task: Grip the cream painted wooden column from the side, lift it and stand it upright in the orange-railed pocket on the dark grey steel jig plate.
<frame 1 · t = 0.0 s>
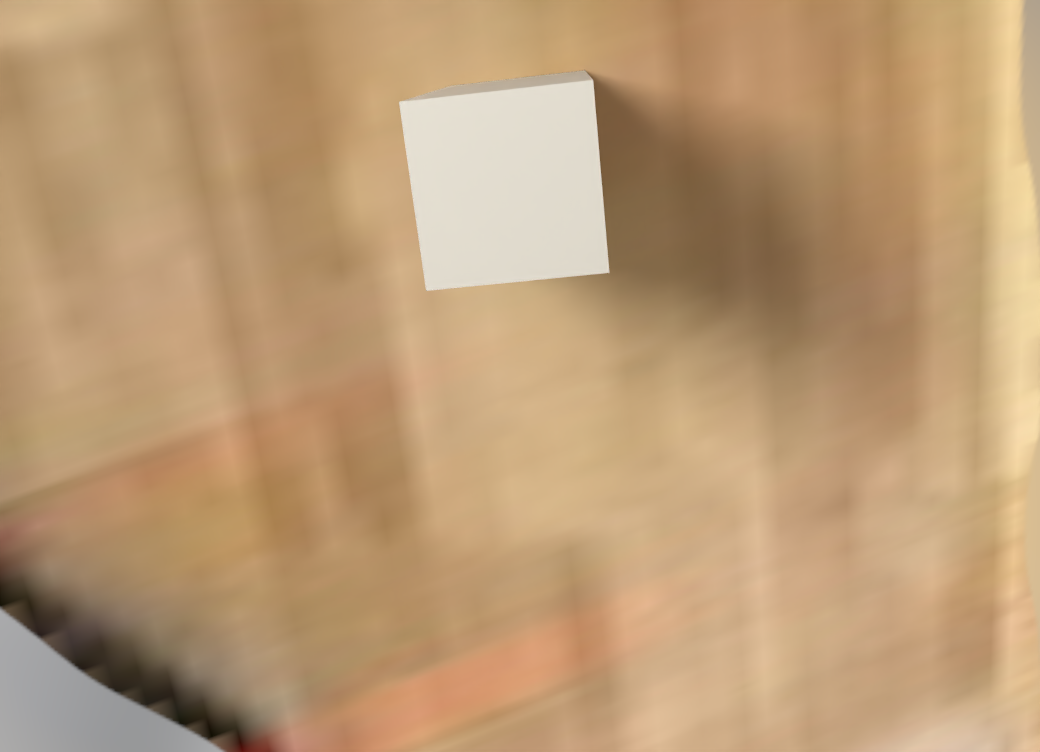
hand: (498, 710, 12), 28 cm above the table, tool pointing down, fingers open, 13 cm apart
column: (524, 146, 37), on the table
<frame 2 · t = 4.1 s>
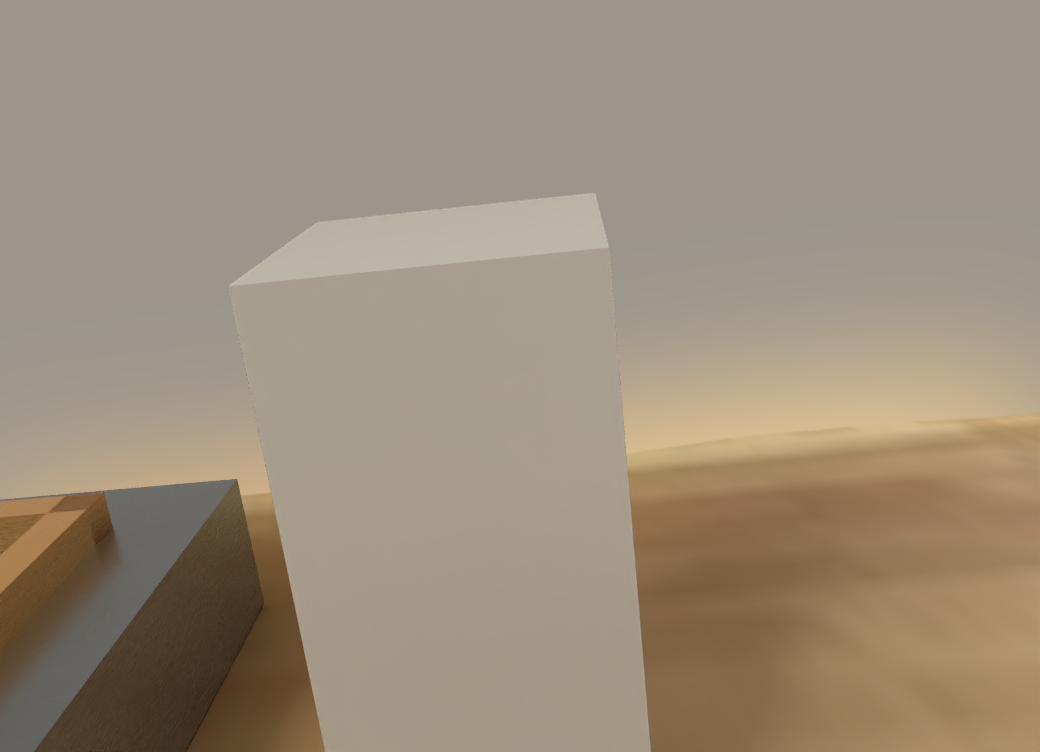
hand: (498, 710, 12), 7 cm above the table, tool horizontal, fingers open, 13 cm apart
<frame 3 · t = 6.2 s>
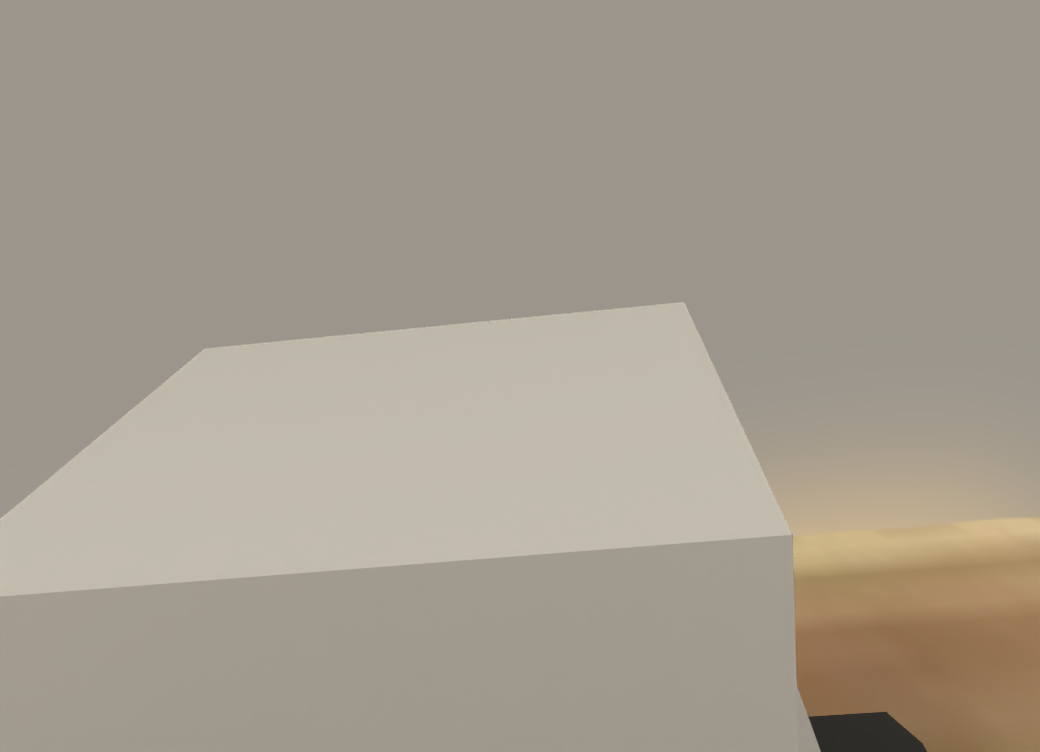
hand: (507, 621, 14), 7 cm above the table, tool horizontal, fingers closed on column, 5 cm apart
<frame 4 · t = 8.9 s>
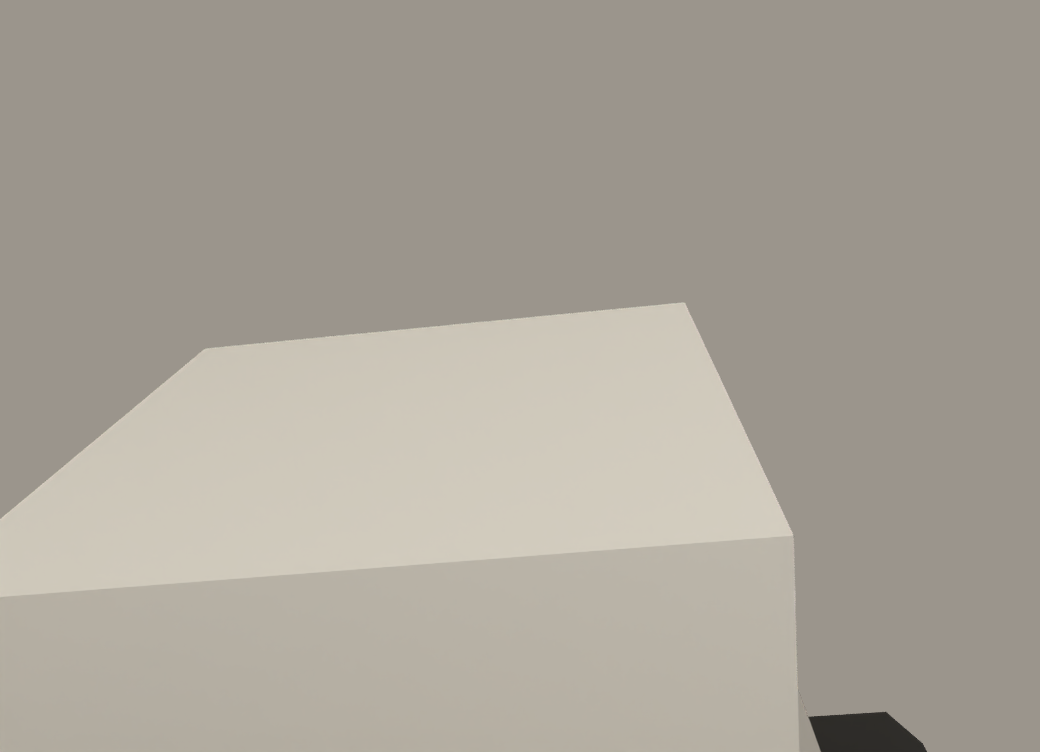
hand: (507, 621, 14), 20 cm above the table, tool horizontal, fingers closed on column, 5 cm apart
when the fingers open (12 cm above the table, at t = 11.8 s): column drops 1 cm, resting on jig plate.
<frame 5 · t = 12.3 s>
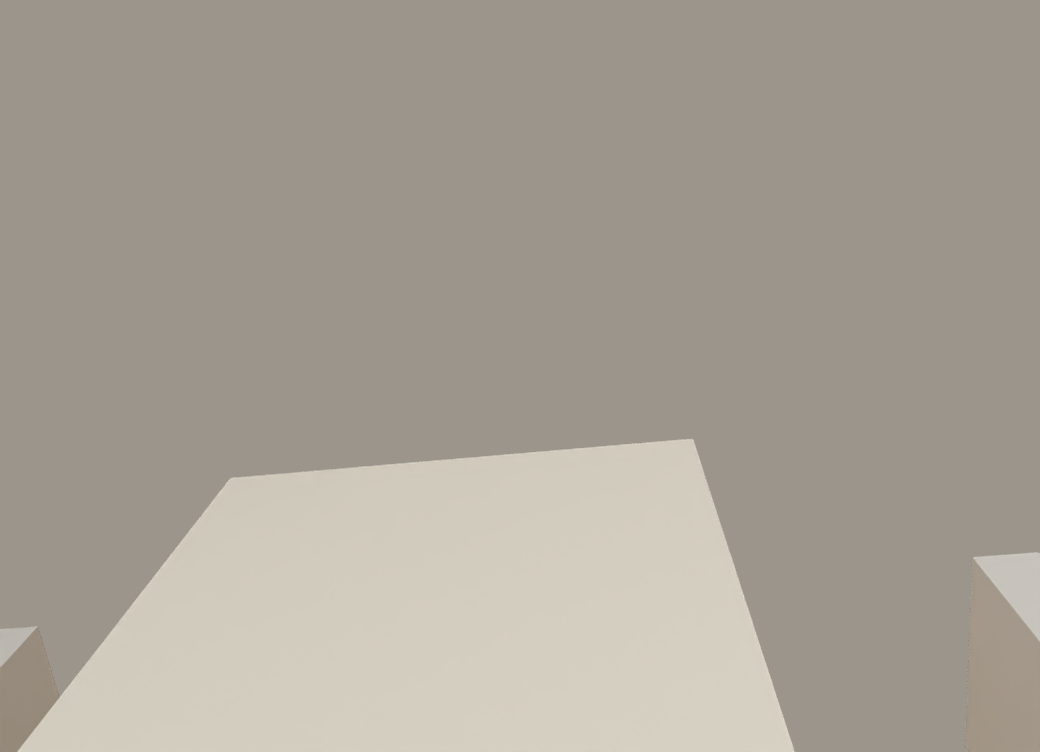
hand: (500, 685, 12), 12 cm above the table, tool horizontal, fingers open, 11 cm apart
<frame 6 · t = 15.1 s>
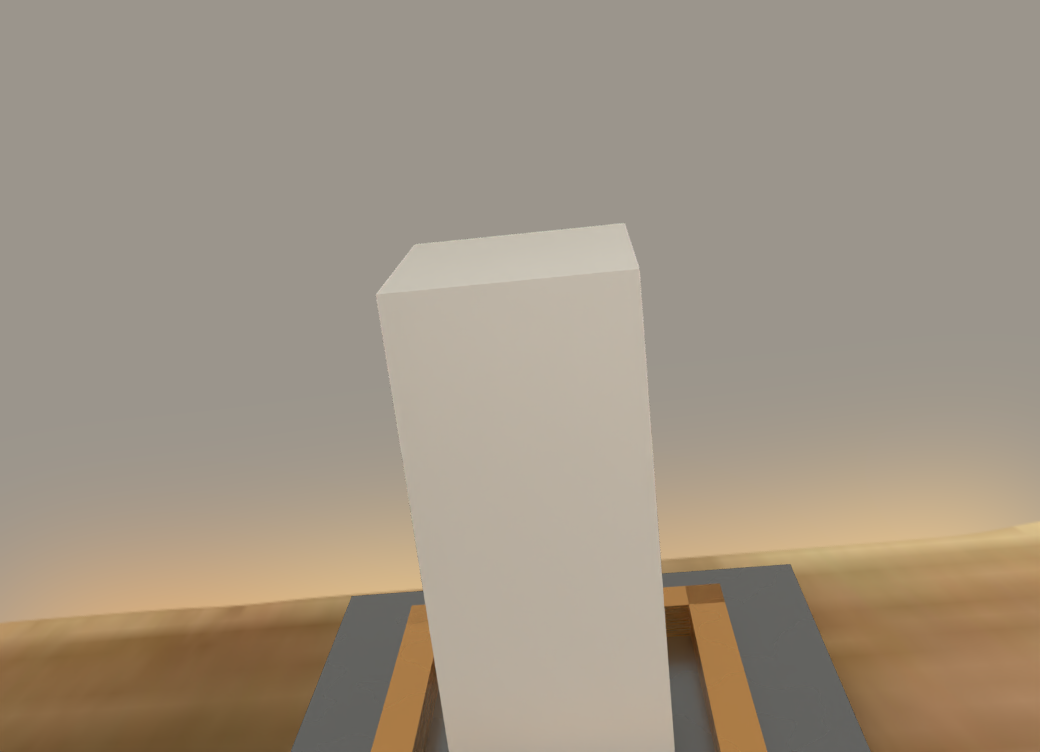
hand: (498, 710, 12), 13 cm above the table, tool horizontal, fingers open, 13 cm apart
column: (566, 726, 25), point 4 cm above the table, touching jig plate
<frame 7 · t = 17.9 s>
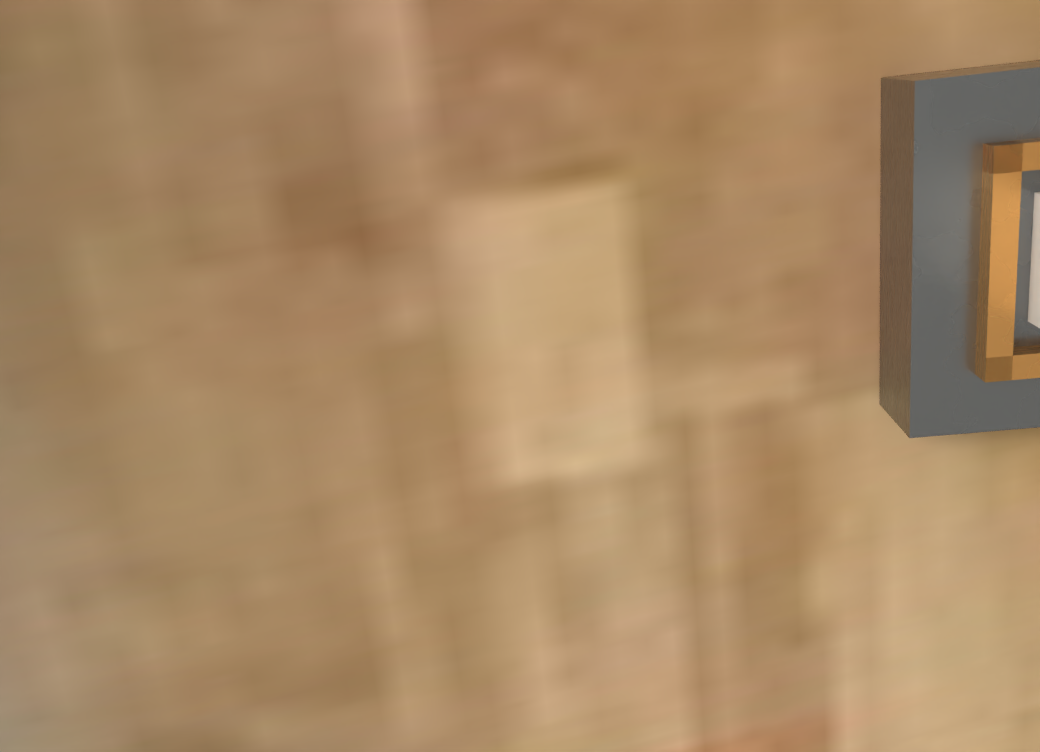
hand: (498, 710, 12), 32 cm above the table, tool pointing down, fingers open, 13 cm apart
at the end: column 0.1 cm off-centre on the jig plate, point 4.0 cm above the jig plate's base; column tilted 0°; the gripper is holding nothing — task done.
